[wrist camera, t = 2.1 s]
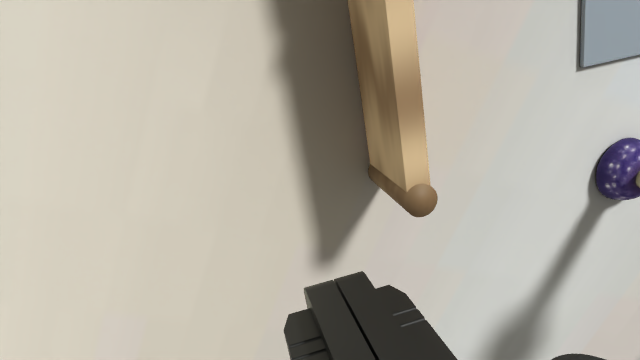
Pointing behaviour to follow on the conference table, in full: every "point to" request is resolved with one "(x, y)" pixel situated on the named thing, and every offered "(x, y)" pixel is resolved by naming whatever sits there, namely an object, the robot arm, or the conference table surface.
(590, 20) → the card
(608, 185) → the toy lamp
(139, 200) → the conference table surface
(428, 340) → the robot arm
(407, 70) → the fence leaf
